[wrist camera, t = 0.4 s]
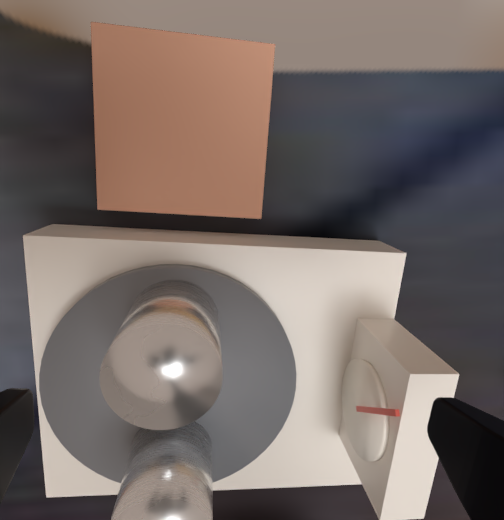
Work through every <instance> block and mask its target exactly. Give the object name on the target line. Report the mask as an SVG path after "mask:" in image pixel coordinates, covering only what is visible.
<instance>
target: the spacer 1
mask: <svg viewBox="0 0 504 520" xmlns="http://www.w3.org/2000/svg"><path fill="white" fill-rule="evenodd" d="M99 380H100V387H101V391H102V394H103V396H104V399H105V401H106V402H107V404H108V405H109V407H110V408H111V409H112V410H113V411H114V412H115V413H116V414H117V415H118V416H119V417H121V418H122V419H124V420H125V421H127V422H129V423H131V424H133V425H135V426H138V427H141V428H145V429H151V430H170V429H175V428H179V427H183V426H185V425H188V424H190V423H192V422H194V421H196V420H197V419H199V418H200V417H202V416H203V415H204V414H205V413H206V412H207V411H208V410H209V409H210V408H211V407H212V406H213V404H214V403H215V401H216V400H217V398H218V395H219V393H220V390H221V387H222V380H223V372H222V356H221V341H220V325H219V314H218V310H217V307H216V305H215V303H214V301H213V300H212V298H211V297H210V296H209V294H208V293H207V292H205V291H204V290H203V289H202V288H200V287H199V286H197V285H195V284H193V283H190V282H187V281H182V280H166V281H162V282H158V283H156V284H153V285H151V286H150V287H148V288H146V289H145V290H144V291H142V293H141V294H140V295H139V296H138V297H137V298H136V300H135V301H134V303H133V305H132V307H131V309H130V310H129V312H128V314H127V316H126V318H125V320H124V322H123V323H122V325H121V327H120V329H119V331H118V333H117V334H116V336H115V338H114V340H113V342H112V344H111V345H110V347H109V349H108V351H107V353H106V355H105V357H104V358H103V361H102V364H101V368H100V376H99Z"/></svg>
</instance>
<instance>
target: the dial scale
mask: <svg viewBox="0 0 504 520" xmlns="http://www.w3.org/2000/svg"><path fill="white" fill-rule="evenodd" d="M23 243H24V254H25V265H26V276H27V288H28V299H29V310H30V321H31V332H32V344H33V355H34V366H35V377H36V388H37V399H38V411H39V422H40V433H41V444H42V455H43V466H44V478H45V489H46V497H70V496H94V495H117V494H118V492H119V489H120V485H121V482H122V478H123V474H124V471H125V467H126V464H127V460H128V456H129V453H130V449H131V446H132V442H133V440H134V438H135V436H136V434H137V433H138V432H139V430H140V429H142V428H141V427H138V426H135V425H133V424H131V423H129V422H127V421H125V420H124V419H122V418H121V417H119V416H118V415H117V414H116V413H115V412H114V411H113V410H112V409H111V408H110V407H109V405H108V404H107V402H106V401H105V399H104V396H103V394H102V391H101V387H100V380H99V376H100V368H101V364H102V361H103V358H104V357H105V355H106V353H107V351H108V349H109V347H110V345H111V344H112V342H113V340H114V338H115V336H116V334H117V333H118V331H119V329H120V327H121V325H122V323H123V322H124V320H125V318H126V316H127V314H128V312H129V310H130V309H131V307H132V305H133V303H134V301H135V300H136V298H137V297H138V296H139V295H140V294H141V293H142V291H144V290H145V289H146V288H148V287H150V286H151V285H153V284H156V283H158V282H162V281H166V280H182V281H187V282H190V283H193V284H195V285H197V286H199V287H200V288H202V289H203V290H204V291H205V292H207V293H208V294H209V296H210V297H211V298H212V300H213V301H214V303H215V305H216V307H217V310H218V314H219V325H220V341H221V356H222V372H223V380H222V387H221V390H220V393H219V395H218V398H217V400H216V401H215V403H214V404H213V406H212V407H211V408H210V409H209V410H208V411H207V412H206V413H205V414H204V415H203V416H202V417H200V418H199V419H197V420H196V421H195V422H197V423H198V424H200V425H201V426H202V427H203V428H204V429H205V430H206V431H207V432H208V434H209V436H210V438H211V442H212V480H213V490H236V489H260V488H284V487H308V486H331V485H355V484H362V485H363V487H364V489H365V491H366V493H367V495H368V497H369V500H370V502H371V504H372V506H373V508H374V510H375V512H376V514H377V516H378V518H379V520H406V519H424V515H425V511H426V507H427V503H428V499H429V495H430V491H431V487H432V483H433V479H434V475H435V471H436V467H437V463H438V459H439V458H438V456H437V453H436V451H435V449H434V447H433V445H432V443H431V441H430V439H429V437H428V433H427V425H428V421H429V417H430V413H431V409H432V405H433V402H434V400H435V399H436V398H438V397H452V398H454V394H455V390H456V386H457V382H458V378H459V373H457V372H456V371H455V370H454V369H453V368H451V367H450V366H449V365H448V364H447V363H446V362H444V361H443V360H442V359H441V358H440V357H438V356H437V355H436V354H435V353H434V352H432V351H431V350H430V349H429V348H428V347H426V346H425V345H424V344H423V343H422V342H421V341H419V340H418V339H417V338H416V337H415V336H413V335H412V334H411V333H410V332H409V331H407V330H406V329H405V328H404V327H403V326H401V325H400V324H399V323H398V322H397V321H396V320H394V317H395V312H396V306H397V301H398V296H399V290H400V285H401V280H402V274H403V269H404V264H405V258H406V253H405V252H402V251H400V250H398V249H396V248H394V247H391V246H389V245H387V244H385V243H383V242H380V241H375V240H356V239H336V238H316V237H297V236H277V235H258V234H238V233H219V232H199V231H180V230H160V229H140V228H121V227H101V226H82V225H62V224H51V225H49V226H46V227H43V228H41V229H38V230H35V231H33V232H30V233H28V234H25V235H23Z"/></svg>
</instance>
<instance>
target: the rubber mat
mask: <svg viewBox="0 0 504 520" xmlns="http://www.w3.org/2000/svg"><path fill="white" fill-rule="evenodd" d="M91 42H92V70H93V98H94V126H95V154H96V183H97V210H113V211H131V212H148V213H166V214H183V215H201V216H218V217H236V218H253V219H261V216H262V204H263V191H264V179H265V166H266V154H267V141H268V129H269V116H270V104H271V91H272V79H273V66H274V53H275V44H270V43H262V42H252V41H245V40H237V39H228V38H221V37H212V36H204V35H196V34H188V33H179V32H171V31H163V30H155V29H147V28H138V27H130V26H122V25H113V24H106V23H96V22H91Z"/></svg>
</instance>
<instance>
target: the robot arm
mask: <svg viewBox="0 0 504 520" xmlns="http://www.w3.org/2000/svg"><path fill="white" fill-rule="evenodd" d="M33 429H34V406H33V394H32V391H31V390H30V389H18V388H10V389H6V390H4V391H2V392H0V504H1V502H2V499H3V497H4V495H5V493H6V491H7V489H8V486H9V484H10V482H11V480H12V478H13V475H14V473H15V471H16V469H17V467H18V465H19V462H20V460H21V458H22V456H23V454H24V452H25V449H26V447H27V445H28V443H29V441H30V438H31V436H32V433H33ZM427 433H428V437H429V439H430V441H431V443H432V445H433V447H434V449H435V451H436V453H437V456H438V458H439V460H440V462H441V464H442V466H443V468H444V470H445V472H446V474H447V476H448V478H449V480H450V482H451V484H452V486H453V488H454V490H455V492H456V493H457V495H458V497H459V499H460V501H461V503H462V505H463V507H464V508H465V510H466V512H467V513H468V515H469V517H470V519H471V520H504V421H503V420H501V419H499V418H497V417H494V416H492V415H490V414H488V413H486V412H484V411H481V410H479V409H477V408H475V407H473V406H471V405H469V404H466V403H464V402H462V401H460V400H458V399H456V398H452V397H438V398H436V399H435V400H434V402H433V405H432V409H431V413H430V417H429V421H428V425H427Z"/></svg>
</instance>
